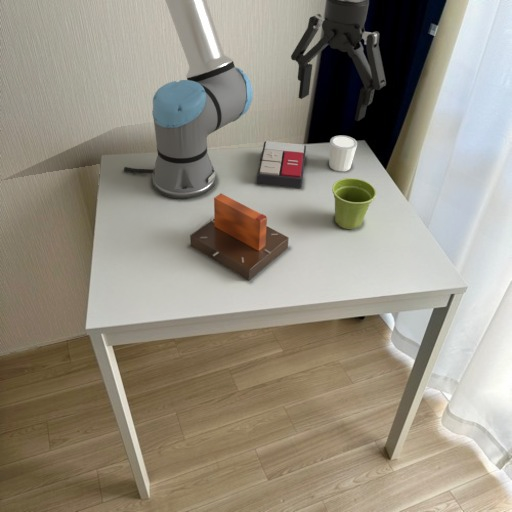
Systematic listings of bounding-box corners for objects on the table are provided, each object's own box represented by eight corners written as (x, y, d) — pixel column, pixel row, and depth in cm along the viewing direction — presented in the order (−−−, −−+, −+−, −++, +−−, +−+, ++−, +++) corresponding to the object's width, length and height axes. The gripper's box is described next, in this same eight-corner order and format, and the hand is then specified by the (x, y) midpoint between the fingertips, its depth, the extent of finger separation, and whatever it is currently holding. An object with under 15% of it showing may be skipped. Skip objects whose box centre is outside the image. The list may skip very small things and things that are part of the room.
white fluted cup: (354, 160, 138) (358, 137, 133) (351, 174, 133) (356, 150, 128) (328, 156, 139) (331, 133, 134) (325, 170, 134) (328, 146, 129)
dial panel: (184, 249, 109) (184, 238, 107) (234, 214, 119) (235, 203, 117) (244, 285, 102) (244, 274, 100) (292, 244, 112) (293, 233, 110)
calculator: (257, 172, 126) (264, 138, 136) (256, 186, 129) (263, 152, 139) (302, 176, 125) (306, 142, 135) (301, 190, 128) (304, 156, 138)
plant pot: (367, 237, 114) (375, 205, 109) (325, 230, 116) (330, 199, 110) (369, 212, 121) (377, 181, 115) (329, 206, 122) (334, 175, 117)
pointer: (214, 226, 111) (213, 196, 105) (221, 221, 112) (221, 192, 107) (258, 251, 105) (260, 221, 100) (265, 245, 107) (267, 215, 101)
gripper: (279, -16, 95) (271, 93, 110) (402, 18, 85) (375, 135, 99) (302, -24, 100) (292, 82, 114) (422, 8, 89) (393, 121, 103)
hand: (330, 107), depth 107 cm, fingers open, 13 cm apart
